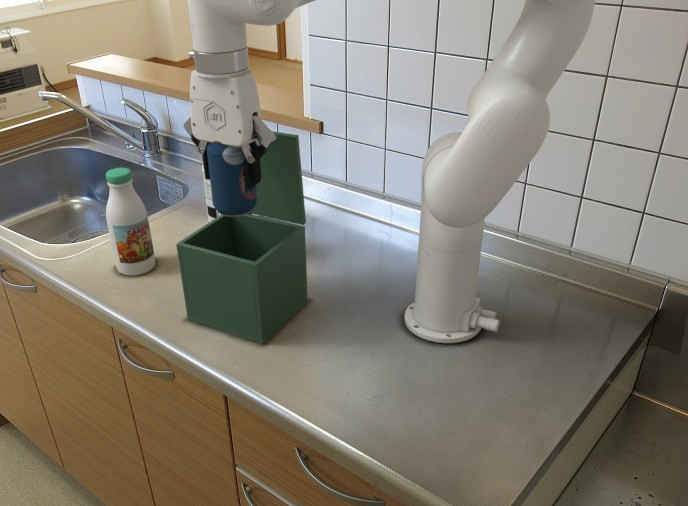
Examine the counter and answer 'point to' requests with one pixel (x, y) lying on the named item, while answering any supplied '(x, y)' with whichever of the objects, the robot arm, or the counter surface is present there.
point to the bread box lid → (281, 181)
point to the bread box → (244, 275)
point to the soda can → (229, 180)
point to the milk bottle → (128, 225)
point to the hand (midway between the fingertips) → (232, 179)
